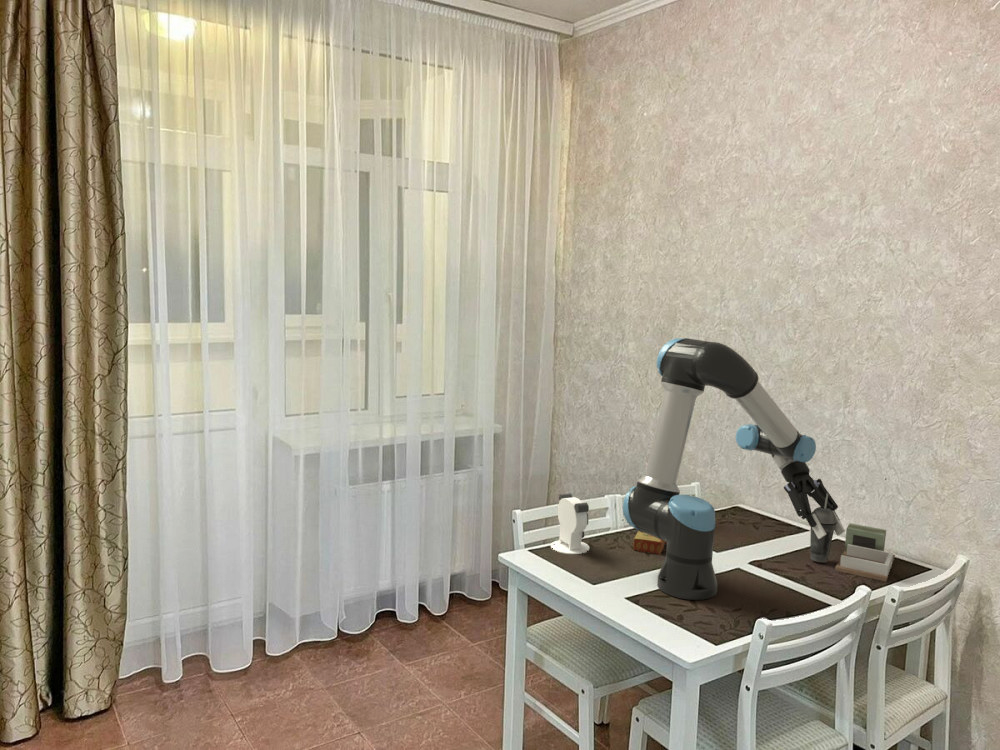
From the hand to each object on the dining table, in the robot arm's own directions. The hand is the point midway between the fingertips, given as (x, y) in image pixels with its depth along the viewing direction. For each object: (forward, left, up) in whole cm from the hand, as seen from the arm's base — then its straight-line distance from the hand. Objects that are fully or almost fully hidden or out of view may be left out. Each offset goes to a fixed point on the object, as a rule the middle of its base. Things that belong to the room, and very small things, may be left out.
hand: (832, 534), depth 221 cm
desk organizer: (+8, -9, -9) cm, 15 cm away
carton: (-14, +48, -10) cm, 51 cm away
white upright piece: (-32, +66, -9) cm, 74 cm away
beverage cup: (+2, +3, -9) cm, 9 cm away
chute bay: (+5, -9, -9) cm, 14 cm away
